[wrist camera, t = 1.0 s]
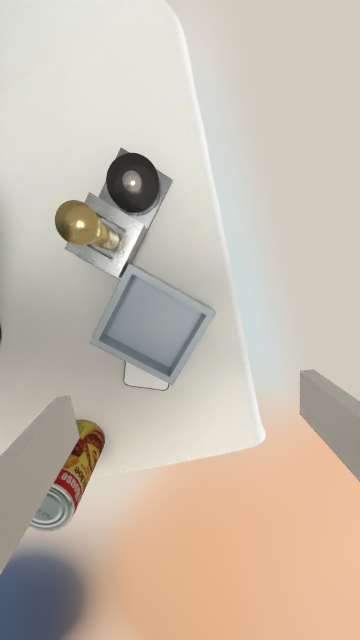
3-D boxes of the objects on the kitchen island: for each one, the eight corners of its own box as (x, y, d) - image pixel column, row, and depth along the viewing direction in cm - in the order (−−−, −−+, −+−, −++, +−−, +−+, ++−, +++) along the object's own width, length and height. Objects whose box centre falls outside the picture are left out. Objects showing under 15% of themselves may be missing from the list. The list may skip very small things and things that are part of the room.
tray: (98, 336, 36) (89, 342, 32) (134, 264, 33) (128, 263, 30) (172, 374, 37) (172, 385, 34) (212, 309, 35) (216, 312, 31)
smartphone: (168, 388, 38) (182, 299, 35) (168, 391, 37) (182, 299, 34) (123, 382, 38) (133, 291, 35) (122, 385, 37) (132, 291, 34)
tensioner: (122, 280, 34) (116, 281, 31) (75, 254, 33) (63, 251, 30) (172, 181, 31) (171, 169, 28) (122, 149, 30) (114, 134, 27)
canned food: (105, 458, 41) (75, 533, 29) (62, 456, 41) (15, 530, 29) (104, 421, 39) (72, 484, 27) (60, 418, 39) (9, 480, 27)
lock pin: (90, 244, 31) (48, 230, 21) (102, 218, 31) (64, 191, 21) (115, 258, 32) (86, 251, 22) (127, 233, 31) (103, 214, 21)
